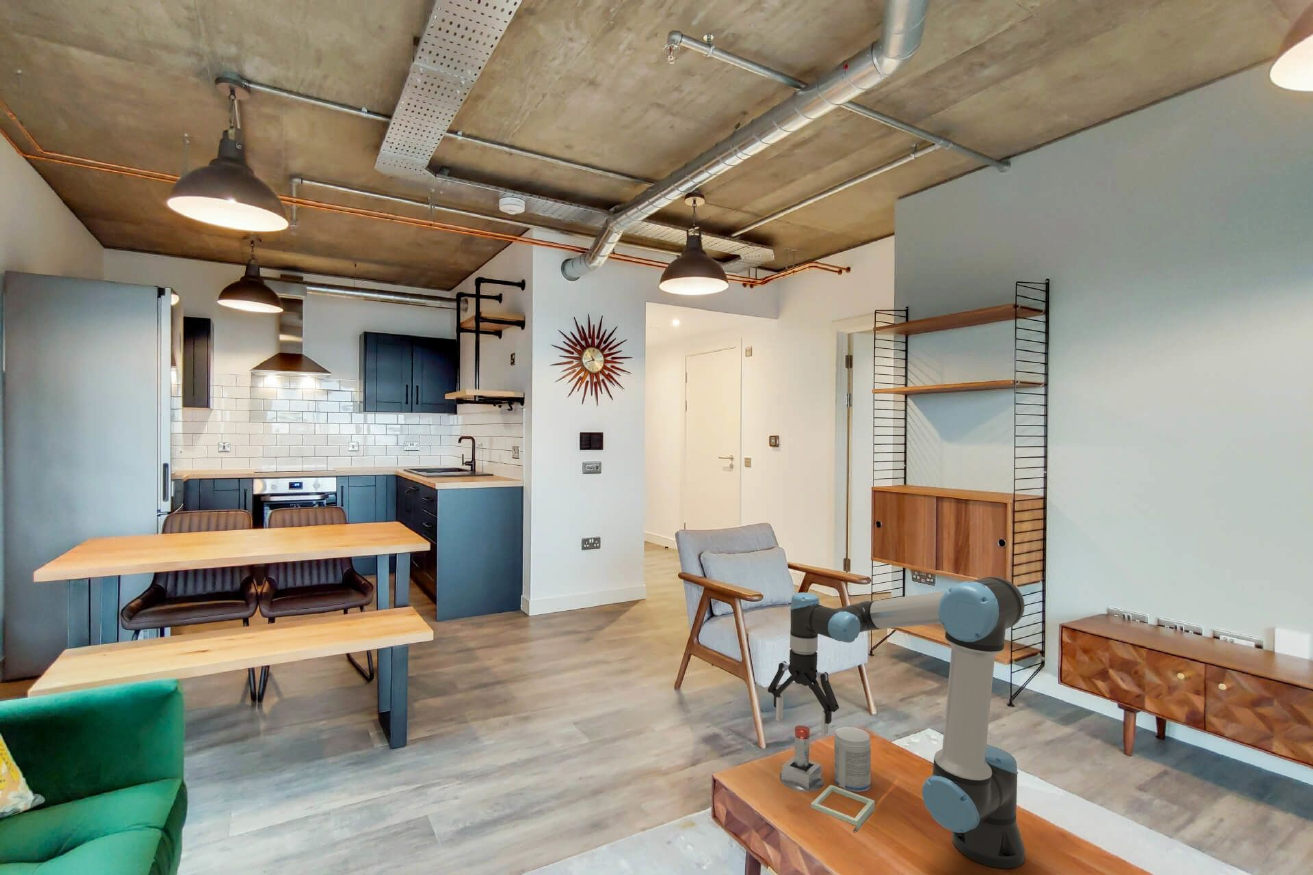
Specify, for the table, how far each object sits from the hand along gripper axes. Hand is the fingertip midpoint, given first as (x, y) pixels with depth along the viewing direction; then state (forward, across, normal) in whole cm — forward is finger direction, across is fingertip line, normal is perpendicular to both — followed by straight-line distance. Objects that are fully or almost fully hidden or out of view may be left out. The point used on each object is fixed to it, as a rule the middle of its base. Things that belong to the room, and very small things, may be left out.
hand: (801, 726), depth 178 cm
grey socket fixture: (+16, 0, 0) cm, 16 cm away
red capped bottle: (+14, 0, 0) cm, 14 cm away
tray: (+16, -14, +5) cm, 22 cm away
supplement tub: (+16, -12, -8) cm, 21 cm away
